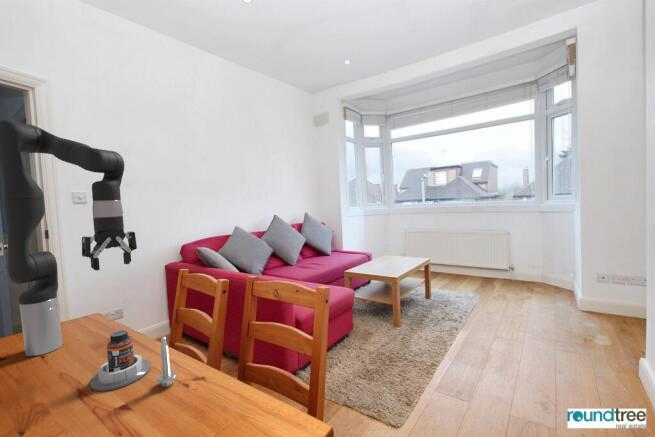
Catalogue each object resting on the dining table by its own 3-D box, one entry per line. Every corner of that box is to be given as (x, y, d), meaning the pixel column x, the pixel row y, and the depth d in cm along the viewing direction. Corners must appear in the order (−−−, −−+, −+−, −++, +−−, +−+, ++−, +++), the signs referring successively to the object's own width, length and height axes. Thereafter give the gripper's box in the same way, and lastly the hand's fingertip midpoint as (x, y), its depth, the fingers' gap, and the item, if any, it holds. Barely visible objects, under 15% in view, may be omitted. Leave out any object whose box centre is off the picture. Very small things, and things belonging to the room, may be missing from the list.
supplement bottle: (122, 379, 82) (118, 338, 81) (103, 377, 83) (99, 337, 82) (139, 366, 87) (136, 328, 87) (122, 365, 89) (118, 327, 88)
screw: (164, 378, 82) (181, 378, 82) (152, 389, 78) (170, 389, 77) (160, 332, 82) (177, 332, 81) (148, 340, 77) (166, 340, 76)
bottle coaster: (80, 382, 82) (78, 371, 82) (133, 357, 94) (132, 347, 94) (107, 397, 75) (106, 384, 75) (161, 368, 88) (160, 357, 87)
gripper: (126, 213, 101) (129, 261, 102) (74, 216, 89) (79, 270, 90) (138, 213, 98) (142, 263, 99) (86, 217, 85) (91, 273, 86)
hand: (112, 266), depth 94 cm, fingers open, 8 cm apart
